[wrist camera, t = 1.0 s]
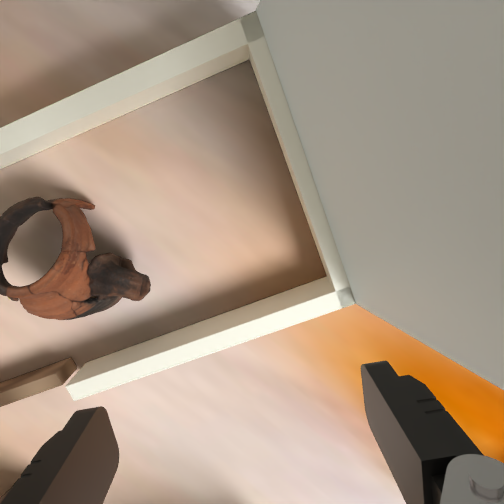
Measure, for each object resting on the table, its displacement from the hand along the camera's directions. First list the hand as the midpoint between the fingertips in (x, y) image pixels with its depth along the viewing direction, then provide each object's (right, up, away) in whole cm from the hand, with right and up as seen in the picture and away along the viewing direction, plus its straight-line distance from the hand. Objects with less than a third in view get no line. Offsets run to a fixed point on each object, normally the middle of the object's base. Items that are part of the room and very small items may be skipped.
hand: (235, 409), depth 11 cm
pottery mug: (-13, +4, +19) cm, 23 cm away
